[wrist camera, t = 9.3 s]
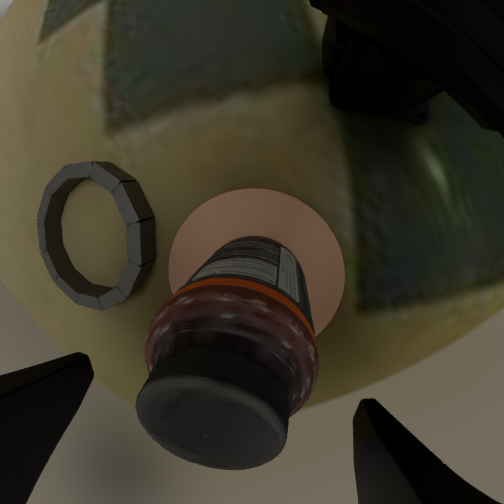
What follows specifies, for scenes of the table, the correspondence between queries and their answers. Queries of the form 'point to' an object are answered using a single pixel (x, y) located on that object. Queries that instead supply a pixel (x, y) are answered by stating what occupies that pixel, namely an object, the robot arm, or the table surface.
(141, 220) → the cup collar
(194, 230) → the terracotta saucer
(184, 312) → the supplement bottle
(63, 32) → the table surface
